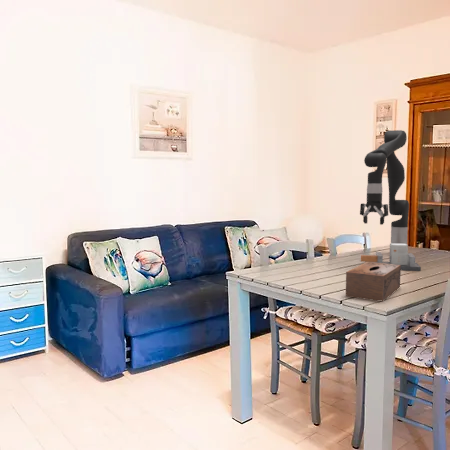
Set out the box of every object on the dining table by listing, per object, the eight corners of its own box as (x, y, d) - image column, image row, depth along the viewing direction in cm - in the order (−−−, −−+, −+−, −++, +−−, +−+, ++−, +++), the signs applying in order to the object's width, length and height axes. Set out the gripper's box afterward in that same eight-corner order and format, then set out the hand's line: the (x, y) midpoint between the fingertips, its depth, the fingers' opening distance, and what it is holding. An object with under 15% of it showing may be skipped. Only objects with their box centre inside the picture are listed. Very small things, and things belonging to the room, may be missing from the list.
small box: (405, 263, 237) (405, 243, 236) (407, 265, 231) (408, 244, 230) (389, 263, 238) (389, 243, 237) (391, 265, 233) (391, 244, 231)
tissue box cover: (382, 302, 173) (383, 276, 172) (345, 296, 181) (346, 271, 180) (399, 288, 194) (400, 265, 193) (366, 284, 202) (366, 261, 201)
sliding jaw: (360, 260, 245) (360, 251, 245) (380, 261, 243) (380, 252, 242) (361, 264, 234) (361, 255, 233) (382, 265, 231) (382, 256, 231)
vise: (364, 264, 245) (365, 251, 244) (416, 266, 238) (417, 253, 238) (366, 269, 233) (366, 255, 233) (420, 271, 227) (421, 257, 226)
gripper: (358, 192, 235) (357, 223, 237) (384, 192, 226) (383, 225, 227) (364, 192, 241) (363, 222, 242) (391, 192, 231) (390, 224, 233)
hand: (373, 224), depth 235 cm, fingers open, 8 cm apart
